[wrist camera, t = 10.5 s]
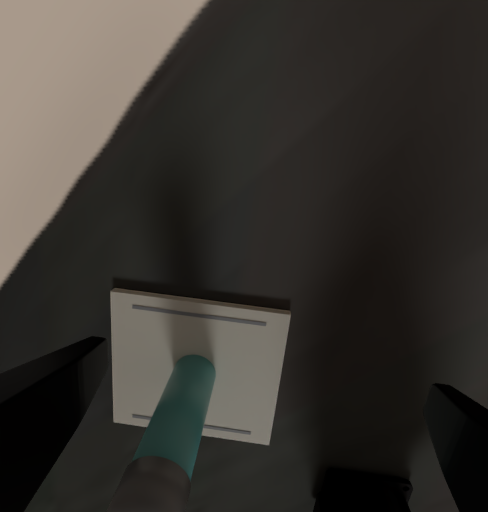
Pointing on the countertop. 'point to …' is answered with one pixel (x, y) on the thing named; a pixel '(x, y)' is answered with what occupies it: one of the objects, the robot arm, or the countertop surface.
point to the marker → (169, 443)
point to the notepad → (206, 345)
